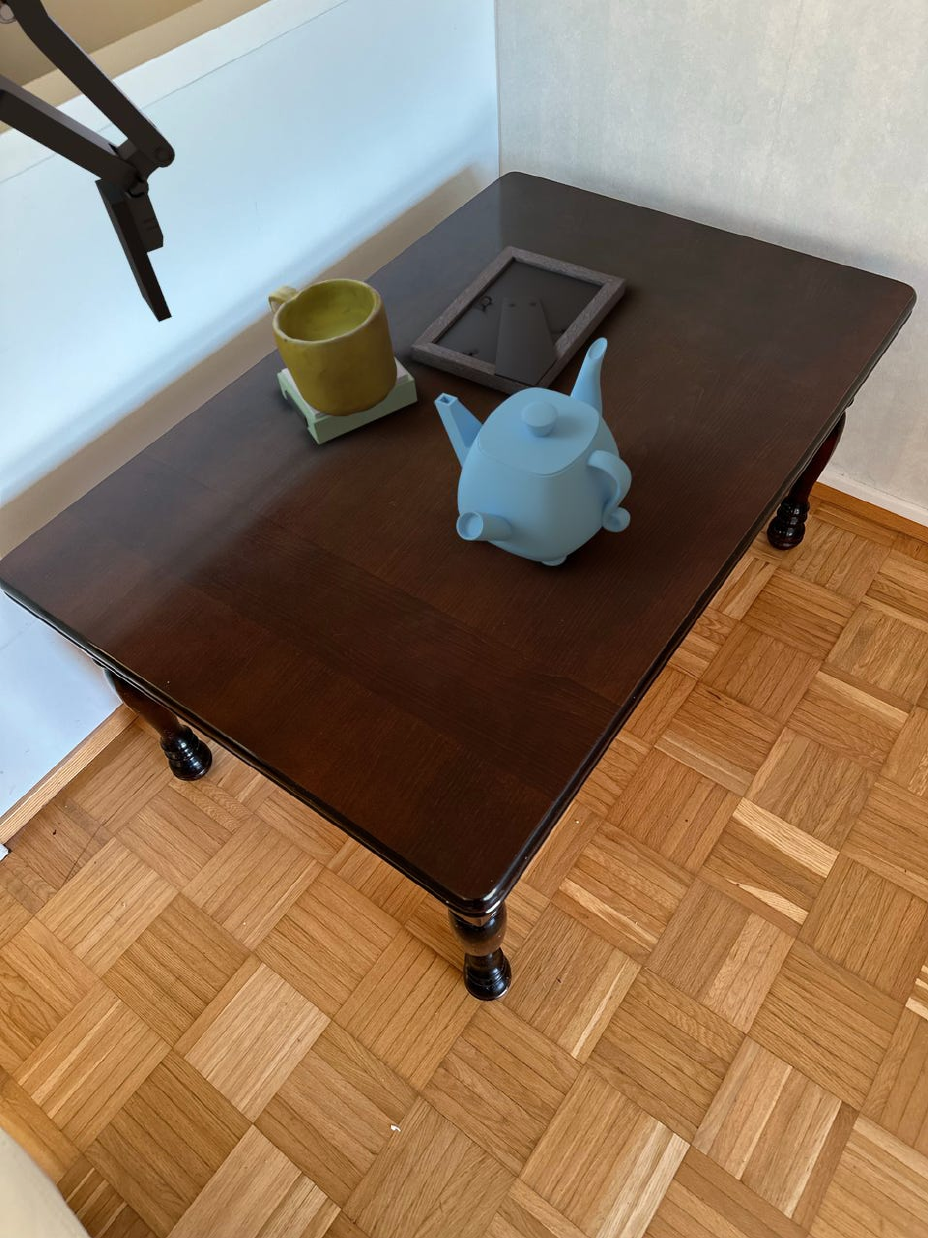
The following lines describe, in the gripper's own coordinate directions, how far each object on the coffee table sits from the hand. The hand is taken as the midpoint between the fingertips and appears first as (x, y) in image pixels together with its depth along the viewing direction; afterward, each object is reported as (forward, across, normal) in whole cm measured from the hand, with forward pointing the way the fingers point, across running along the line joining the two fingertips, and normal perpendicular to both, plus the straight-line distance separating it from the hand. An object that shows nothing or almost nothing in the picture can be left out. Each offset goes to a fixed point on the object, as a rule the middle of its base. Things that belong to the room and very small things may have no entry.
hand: (34, 355), depth 47 cm
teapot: (+27, +28, -4) cm, 39 cm away
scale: (+27, +22, +18) cm, 39 cm away
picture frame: (+27, +40, +18) cm, 52 cm away
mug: (+24, +21, +18) cm, 36 cm away
